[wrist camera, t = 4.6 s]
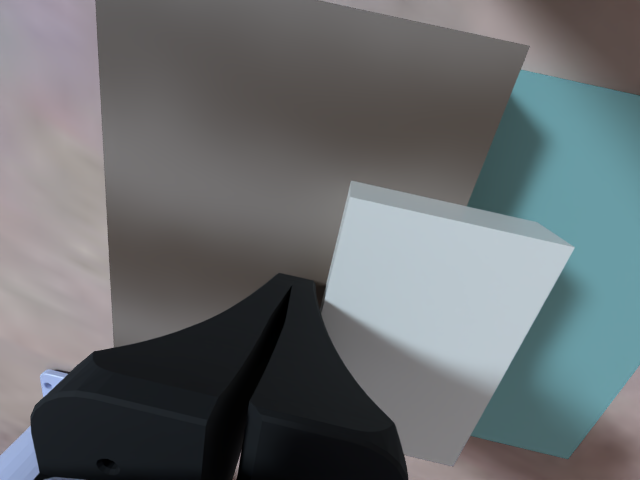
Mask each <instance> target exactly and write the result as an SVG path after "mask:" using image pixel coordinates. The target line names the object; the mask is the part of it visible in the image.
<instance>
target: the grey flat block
mask: <svg viewBox="0 0 640 480" xmlns="http://www.w3.org/2000/svg"><path fill="white" fill-rule="evenodd" d="M95 1H96V20H97V39H98V57H99V76H100V95H101V114H102V132H103V151H104V170H105V188H106V207H107V226H108V245H109V263H110V282H111V301H112V320H113V338H114V348H115V347H120V346H125V345H130V344H135V343H139V342H143V341H147V340H150V339H154V338H158V337H161V336H164V335H168V334H171V333H174V332H177V331H180V330H182V329H185V328H188V327H190V326H193V325H195V324H198V323H201V322H203V321H205V320H208V319H210V318H212V317H214V316H216V315H218V314H220V313H222V312H224V311H225V310H227V309H229V308H230V307H232V306H234V305H235V304H237V303H239V302H240V301H242V300H243V299H245V298H246V297H248V296H249V295H251V294H252V293H253V292H255V291H256V290H258V289H259V288H260V287H262V286H263V285H264V284H265V283H267V282H268V281H269V280H270V279H271V278H273V277H274V276H275V275H276V274H278V273H283V274H287V275H291V276H296V277H300V278H304V279H309V280H313V281H314V282H315V284H316V296H317V301H318V305H319V309H320V308H321V303H322V299H323V295H324V291H325V287H326V283H327V279H328V274H329V270H330V266H331V262H332V258H333V254H334V250H335V245H336V241H337V237H338V233H339V229H340V225H341V221H342V216H343V212H344V208H345V204H346V200H347V196H348V192H349V187H350V183H351V181H355V182H360V183H364V184H369V185H373V186H378V187H382V188H387V189H391V190H396V191H400V192H405V193H409V194H413V195H418V196H422V197H427V198H431V199H436V200H440V201H445V202H449V203H454V204H458V205H463V206H467V204H468V202H469V199H470V197H471V194H472V192H473V189H474V187H475V184H476V182H477V179H478V176H479V174H480V171H481V169H482V166H483V164H484V161H485V159H486V156H487V154H488V151H489V149H490V146H491V144H492V141H493V138H494V136H495V133H496V131H497V128H498V126H499V123H500V121H501V118H502V116H503V113H504V111H505V108H506V105H507V103H508V100H509V98H510V95H511V93H512V90H513V88H514V85H515V83H516V80H517V78H518V75H519V73H520V70H521V67H522V65H523V62H524V60H525V57H526V55H527V52H528V50H529V47H530V46H527V45H523V44H518V43H514V42H509V41H504V40H500V39H495V38H490V37H486V36H481V35H476V34H472V33H467V32H462V31H458V30H453V29H449V28H444V27H439V26H435V25H430V24H425V23H421V22H416V21H411V20H407V19H402V18H398V17H393V16H388V15H384V14H379V13H374V12H370V11H365V10H360V9H356V8H351V7H347V6H342V5H337V4H333V3H328V2H323V1H319V0H95Z"/></svg>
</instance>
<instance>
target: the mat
mask: <svg viewBox="0 0 640 480" xmlns="http://www.w3.org/2000/svg"><path fill="white" fill-rule="evenodd" d="M467 207H472V208H476V209H481V210H485V211H489V212H494V213H498V214H503V215H507V216H512V217H516V218H521V219H525V220H530V221H534V222H538V223H539V224H541V225H542V226H544V227H545V228H547V229H548V230H550V231H551V232H553V233H554V234H556V235H557V236H559V237H560V238H562V239H563V240H565V241H566V242H568V243H569V244H571V245H572V246H574V247H575V248H574V250H573V252H572V254H571V255H570V257H569V259H568V261H567V263H566V264H565V266H564V268H563V270H562V272H561V273H560V275H559V277H558V279H557V281H556V282H555V284H554V286H553V288H552V290H551V291H550V293H549V295H548V297H547V299H546V300H545V302H544V304H543V306H542V308H541V309H540V311H539V313H538V315H537V317H536V318H535V320H534V322H533V324H532V326H531V327H530V329H529V331H528V333H527V335H526V336H525V338H524V340H523V342H522V344H521V345H520V347H519V349H518V351H517V353H516V354H515V356H514V358H513V360H512V361H511V363H510V365H509V367H508V369H507V370H506V372H505V374H504V376H503V378H502V379H501V381H500V383H499V385H498V387H497V388H496V390H495V392H494V394H493V396H492V397H491V399H490V401H489V403H488V405H487V406H486V408H485V410H484V412H483V414H482V415H481V417H480V419H479V421H478V423H477V424H476V426H475V428H474V430H473V432H472V433H471V435H470V436H473V437H478V438H482V439H486V440H490V441H494V442H498V443H503V444H507V445H511V446H515V447H519V448H523V449H528V450H532V451H536V452H540V453H544V454H548V455H553V456H557V457H561V458H565V459H569V457H570V456H571V455H572V453H573V452H574V451H575V450H576V448H577V447H578V446H579V444H580V443H581V442H582V440H583V439H584V438H585V436H586V435H587V434H588V432H589V431H590V430H591V428H592V427H593V426H594V424H595V423H596V422H597V421H598V419H599V418H600V417H601V415H602V414H603V413H604V411H605V410H606V409H607V407H608V406H609V405H610V403H611V402H612V401H613V399H614V398H615V397H616V395H617V394H618V393H619V392H620V390H621V389H622V388H623V386H624V385H625V384H626V382H627V381H628V380H629V378H630V377H631V376H632V374H633V373H634V372H635V370H636V369H637V368H638V366H639V365H640V95H635V94H630V93H626V92H621V91H617V90H612V89H607V88H603V87H598V86H594V85H589V84H584V83H580V82H575V81H571V80H566V79H561V78H557V77H552V76H548V75H543V74H538V73H534V72H529V71H524V70H520V73H519V75H518V78H517V80H516V83H515V85H514V88H513V90H512V93H511V95H510V98H509V100H508V103H507V105H506V108H505V111H504V113H503V116H502V118H501V121H500V123H499V126H498V128H497V131H496V133H495V136H494V138H493V141H492V144H491V146H490V149H489V151H488V154H487V156H486V159H485V161H484V164H483V166H482V169H481V171H480V174H479V176H478V179H477V182H476V184H475V187H474V189H473V192H472V194H471V197H470V199H469V202H468V204H467Z"/></svg>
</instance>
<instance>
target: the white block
mask: <svg viewBox="0 0 640 480" xmlns="http://www.w3.org/2000/svg"><path fill="white" fill-rule="evenodd" d="M574 248H575V247H574V246H572V245H571V244H569V243H568V242H566V241H565V240H563V239H562V238H560V237H559V236H557V235H556V234H554V233H553V232H551V231H550V230H548V229H547V228H545V227H544V226H542V225H541V224H539V223H538V222H534V221H530V220H525V219H521V218H516V217H512V216H507V215H503V214H498V213H494V212H489V211H485V210H481V209H476V208H472V207H467V206H463V205H458V204H454V203H449V202H445V201H440V200H436V199H431V198H427V197H422V196H418V195H413V194H409V193H405V192H400V191H396V190H391V189H387V188H382V187H378V186H373V185H369V184H364V183H360V182H355V181H351V183H350V187H349V192H348V196H347V200H346V204H345V208H344V212H343V216H342V221H341V225H340V229H339V233H338V237H337V241H336V245H335V250H334V254H333V258H332V262H331V266H330V270H329V274H328V279H327V283H326V287H325V291H324V295H323V299H322V303H321V308H320V312H321V315H322V319H323V321H324V324H325V327H326V329H327V332H328V334H329V336H330V339H331V341H332V343H333V345H334V347H335V349H336V351H337V352H338V354H339V356H340V358H341V359H342V361H343V363H344V364H345V366H346V367H347V369H348V370H349V372H350V373H351V375H352V376H353V377H354V379H355V380H356V382H357V383H358V384H359V385H360V387H361V388H362V389H363V390H364V391H365V393H366V394H367V395H368V396H369V397H370V398H371V400H372V401H373V402H374V403H375V404H376V405H377V406H378V407H379V408H380V409H381V410H382V411H383V412H384V413H385V414H386V415H387V416H388V417H389V418H390V419H391V420H392V421H393V422H394V423H395V425H396V428H397V432H398V435H399V438H400V442H401V445H402V449H403V453H404V455H406V456H410V457H415V458H419V459H423V460H427V461H431V462H436V463H440V464H444V465H448V466H454V464H455V462H456V460H457V459H458V457H459V455H460V453H461V451H462V450H463V448H464V446H465V444H466V442H467V441H468V439H469V437H470V435H471V433H472V432H473V430H474V428H475V426H476V424H477V423H478V421H479V419H480V417H481V415H482V414H483V412H484V410H485V408H486V406H487V405H488V403H489V401H490V399H491V397H492V396H493V394H494V392H495V390H496V388H497V387H498V385H499V383H500V381H501V379H502V378H503V376H504V374H505V372H506V370H507V369H508V367H509V365H510V363H511V361H512V360H513V358H514V356H515V354H516V353H517V351H518V349H519V347H520V345H521V344H522V342H523V340H524V338H525V336H526V335H527V333H528V331H529V329H530V327H531V326H532V324H533V322H534V320H535V318H536V317H537V315H538V313H539V311H540V309H541V308H542V306H543V304H544V302H545V300H546V299H547V297H548V295H549V293H550V291H551V290H552V288H553V286H554V284H555V282H556V281H557V279H558V277H559V275H560V273H561V272H562V270H563V268H564V266H565V264H566V263H567V261H568V259H569V257H570V255H571V254H572V252H573V250H574Z"/></svg>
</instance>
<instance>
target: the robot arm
mask: <svg viewBox="0 0 640 480" xmlns="http://www.w3.org/2000/svg"><path fill="white" fill-rule="evenodd" d="M40 380H41V386H42V392H43V398H42V399H41V400H40V401H39V402H38V403H37V404H36V405H35V407H34V409H33V412H32V414H31V426H30V427H29V428H28V429H27V430H26V431H25V432H24V433H23V434H22V435H21V436H20V437H19V438H18V439H17V440H16V441H15V442H14V443H13V444H12V445H11V446H10V447H9V448H8V449H7V450H6V451H4V452H3V453H2V454H1V455H0V480H232V479H233V476H234V472H235V469H236V466H237V463H238V459H239V456H240V453H241V457H240V463H239V470H238V476H237V480H408V473H407V466H406V461H405V457H404V453H403V449H402V445H401V442H400V438H399V435H398V432H397V428H396V425H395V423H394V422H393V421H392V420H391V419H390V418H389V417H388V416H387V415H386V414H385V413H384V412H383V411H382V410H381V409H380V408H379V407H378V406H377V405H376V404H375V403H374V402H373V401H372V400H371V398H370V397H369V396H368V395H367V394H366V393H365V391H364V390H363V389H362V388H361V387H360V385H359V384H358V383H357V382H356V380H355V379H354V377H353V376H352V375H351V373H350V372H349V370H348V369H347V367H346V366H345V364H344V363H343V361H342V359H341V358H340V356H339V354H338V352H337V351H336V349H335V347H334V345H333V343H332V341H331V339H330V336H329V334H328V332H327V329H326V327H325V324H324V321H323V319H322V315H321V312H320V309H319V305H318V301H317V296H316V284H315V282H314V281H313V280H309V279H304V278H300V277H296V276H291V275H287V274H283V273H278V274H276V275H275V276H274V277H273V278H271V279H270V280H269V281H268V282H267V283H265V284H264V285H263V286H262V287H260V288H259V289H258V290H256V291H255V292H253V293H252V294H251V295H249V296H248V297H246V298H245V299H243V300H242V301H240V302H239V303H237V304H235V305H234V306H232V307H230V308H229V309H227V310H225V311H224V312H222V313H220V314H218V315H216V316H214V317H212V318H210V319H208V320H205V321H203V322H201V323H198V324H195V325H193V326H190V327H188V328H185V329H182V330H180V331H177V332H174V333H171V334H168V335H164V336H161V337H158V338H154V339H150V340H147V341H143V342H139V343H135V344H130V345H125V346H120V347H115V348H110V349H105V350H100V351H94V352H93V353H92V354H90V355H89V356H88V357H87V358H86V359H84V360H83V361H82V362H81V363H80V364H78V365H77V366H76V367H75V368H74V369H73V370H72V371H71V372H70V373H69V374H67V373H63V372H59V371H55V370H46V371H44V372H43V373H42V374H41V375H40ZM241 450H242V451H241Z"/></svg>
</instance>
